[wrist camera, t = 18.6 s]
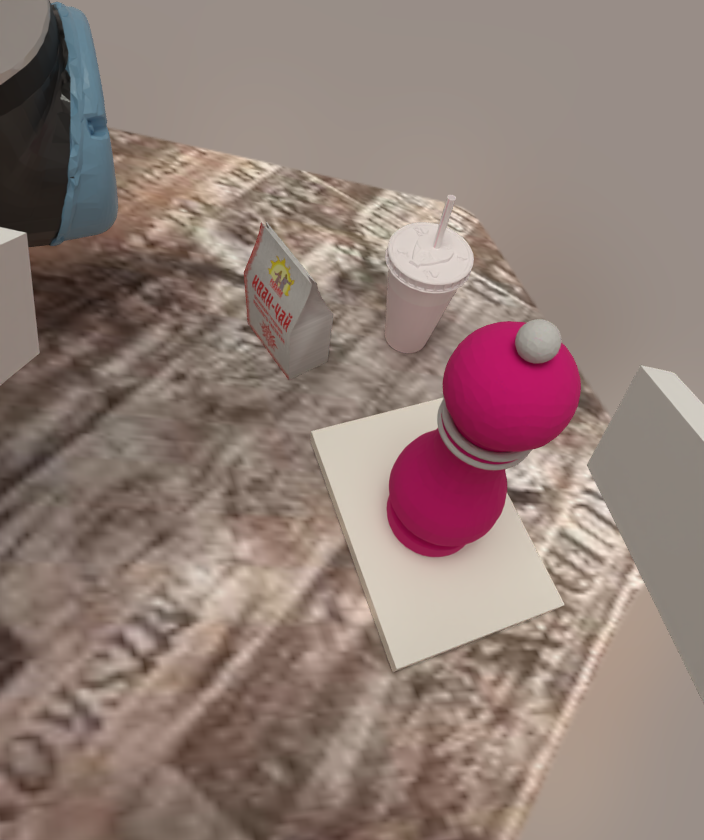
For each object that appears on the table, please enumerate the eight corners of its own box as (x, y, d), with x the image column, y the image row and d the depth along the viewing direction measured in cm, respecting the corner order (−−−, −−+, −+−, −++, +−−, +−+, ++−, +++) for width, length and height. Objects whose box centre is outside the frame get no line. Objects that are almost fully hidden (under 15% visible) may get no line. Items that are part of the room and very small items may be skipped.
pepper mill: (467, 462, 41) (598, 258, 24) (493, 559, 38) (667, 399, 21) (371, 470, 40) (438, 262, 23) (388, 571, 37) (482, 412, 20)
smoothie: (456, 338, 49) (513, 205, 37) (410, 379, 47) (455, 250, 35) (401, 296, 51) (438, 157, 39) (353, 334, 48) (377, 196, 36)
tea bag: (285, 307, 49) (286, 213, 41) (327, 361, 47) (338, 274, 38) (247, 323, 48) (240, 229, 39) (289, 380, 45) (291, 293, 37)
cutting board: (310, 440, 43) (311, 431, 41) (451, 404, 46) (456, 394, 44) (392, 672, 35) (396, 669, 34) (554, 609, 38) (564, 604, 37)
